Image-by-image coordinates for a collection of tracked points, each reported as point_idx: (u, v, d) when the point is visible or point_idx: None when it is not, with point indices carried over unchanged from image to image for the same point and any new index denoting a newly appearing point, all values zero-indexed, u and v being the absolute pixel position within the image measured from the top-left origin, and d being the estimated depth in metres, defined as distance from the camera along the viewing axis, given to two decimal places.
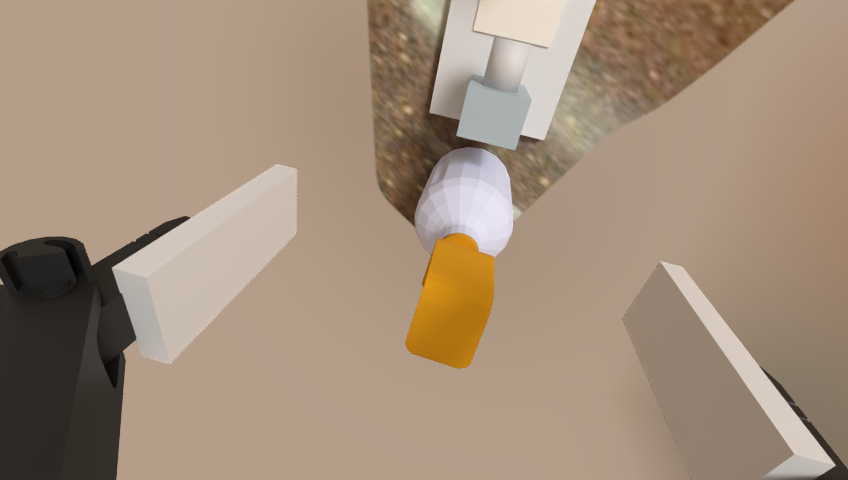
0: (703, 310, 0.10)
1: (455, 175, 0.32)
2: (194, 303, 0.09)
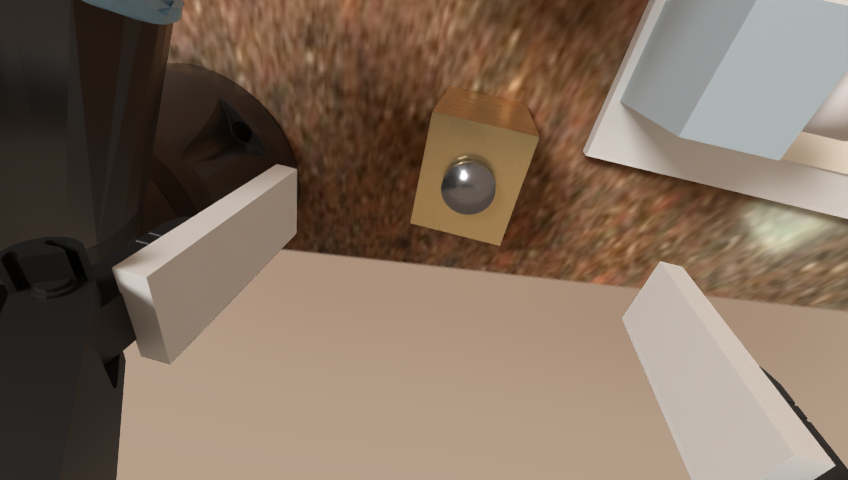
0: (703, 310, 0.10)
1: None
2: (194, 303, 0.09)
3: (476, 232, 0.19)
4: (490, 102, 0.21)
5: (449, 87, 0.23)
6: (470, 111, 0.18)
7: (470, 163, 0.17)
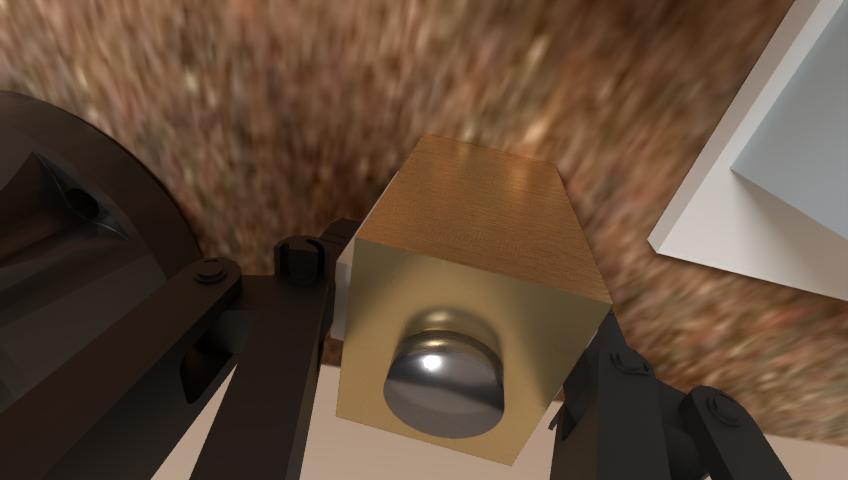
0: None
1: None
2: None
3: (464, 443, 0.10)
4: (493, 171, 0.12)
5: (422, 136, 0.13)
6: (450, 214, 0.09)
7: (447, 355, 0.07)
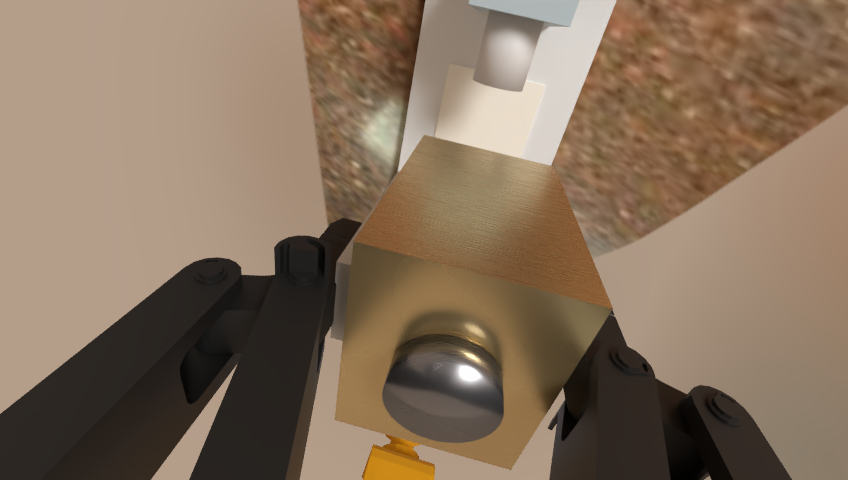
0: None
1: None
2: None
3: (464, 446, 0.10)
4: (492, 173, 0.12)
5: None
6: (449, 217, 0.09)
7: (445, 359, 0.07)
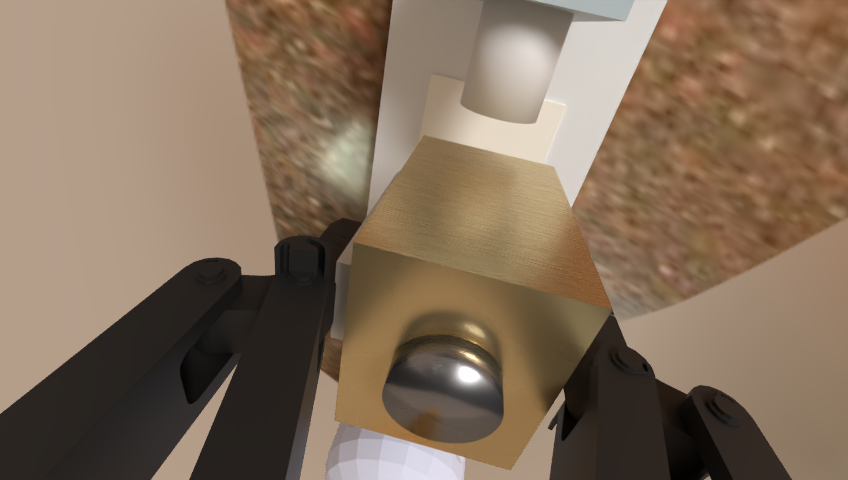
0: None
1: None
2: None
3: (463, 447, 0.10)
4: (492, 173, 0.12)
5: (421, 139, 0.13)
6: (449, 218, 0.09)
7: (446, 360, 0.07)
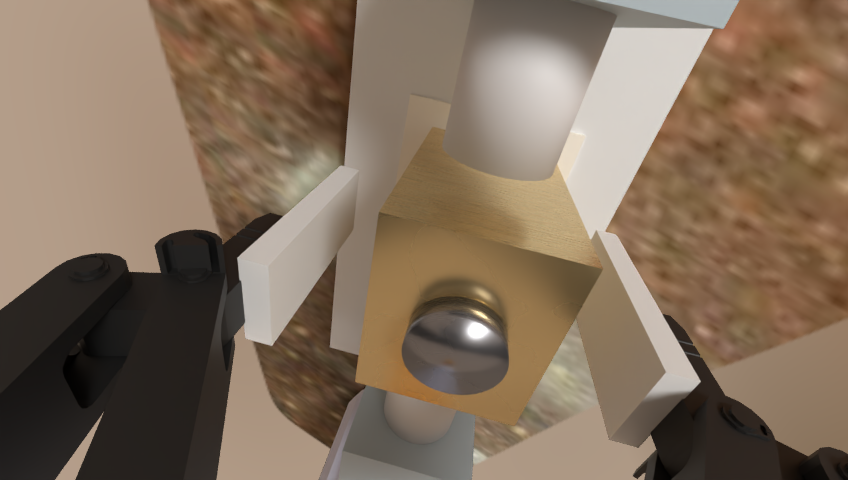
0: (623, 268, 0.11)
1: None
2: (290, 291, 0.10)
3: (472, 404, 0.11)
4: None
5: (430, 130, 0.14)
6: (460, 195, 0.10)
7: (458, 315, 0.08)
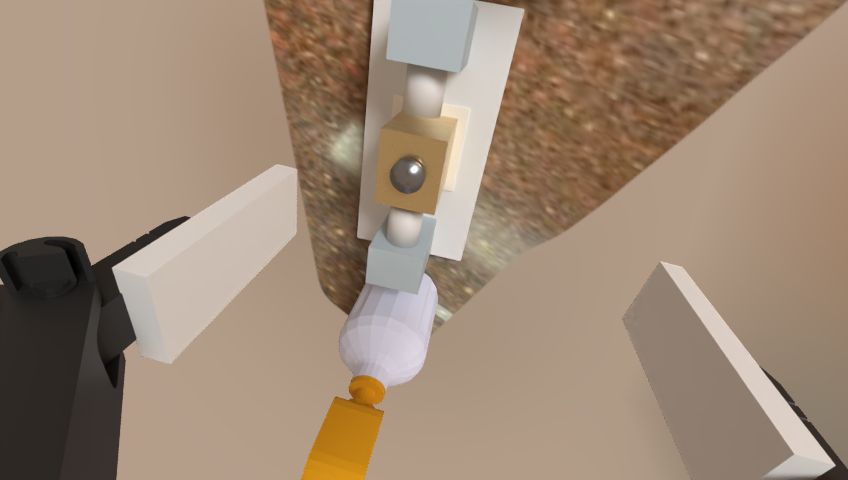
0: (703, 310, 0.10)
1: (370, 311, 0.36)
2: (194, 303, 0.09)
3: (417, 206, 0.29)
4: (429, 119, 0.31)
5: None
6: (408, 126, 0.28)
7: (406, 159, 0.26)
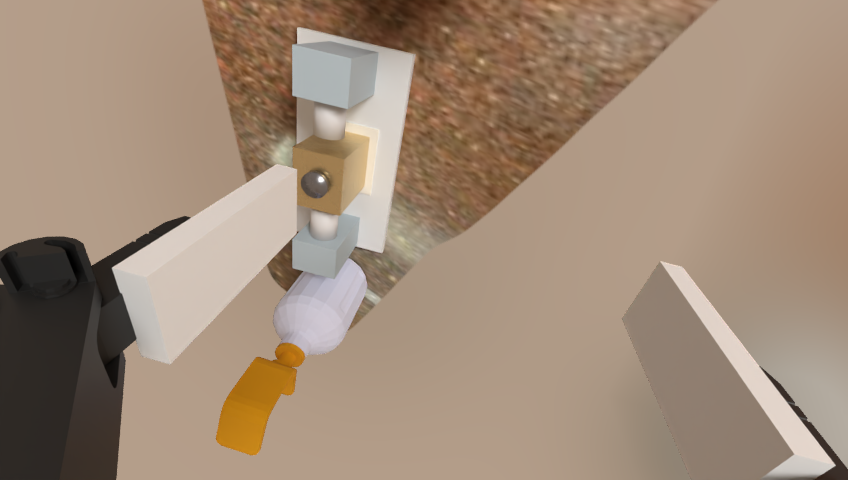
0: (703, 310, 0.10)
1: (298, 292, 0.43)
2: (194, 303, 0.09)
3: (326, 208, 0.36)
4: None
5: None
6: (318, 145, 0.35)
7: (312, 172, 0.34)
